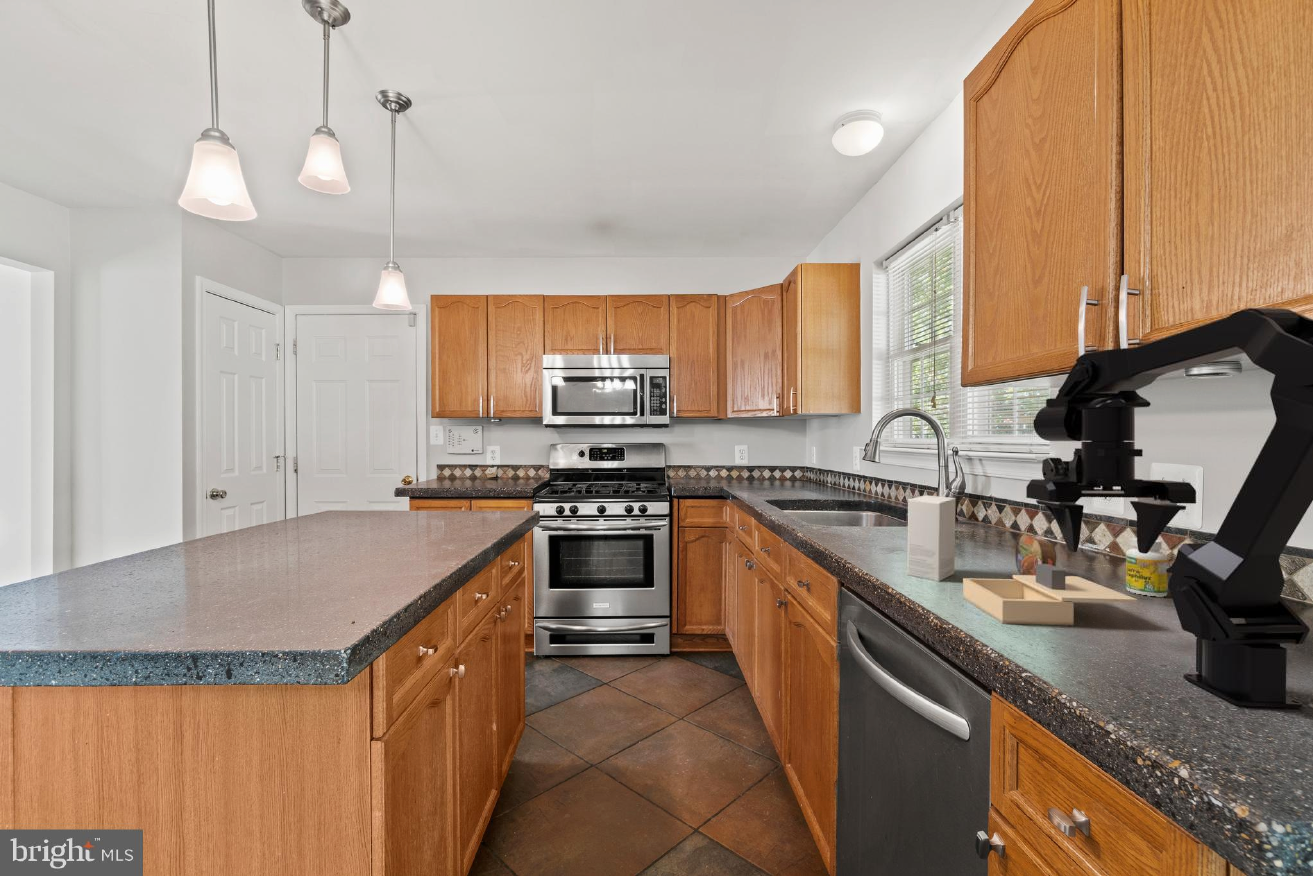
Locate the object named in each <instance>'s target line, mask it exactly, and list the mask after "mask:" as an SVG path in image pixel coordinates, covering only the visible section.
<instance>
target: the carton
mask: <svg viewBox="0 0 1313 876" xmlns="http://www.w3.org/2000/svg"><path fill="white" fill-rule="evenodd" d="M962 584H963V585H962V587H963V588H962V598H963V600H964V601H966V602H968V603H969V604H971V605H973V606H974V607H975V608H977V609H978V610H980V611H982V612H984V613H985V614H987V615H988V616H990V617H991V618H993V619H994V620H996V621H998V622H999V623H1001V624H1004V625H1005V624H1006V625H1007V624H1008V625H1034V626H1035V625H1039V626H1041V625H1044V626H1068V625H1072V626H1074V610H1075V609H1074V608H1075V607H1074V602H1075V601H1061V600H1059V599H1057V598H1054V597H1052V596H1050V595H1048V594H1046V593H1044V592H1042V591H1040V590H1037V589H1035V588H1033V587H1031V586H1029V585H1027V584H1025V583H1023V582H1020V581H1018V580H1016V579H1014V578H1012V579H1011V578H1009V579H1008V578H1006V579H1005V578H1004V579H1003V578H975V577H974V578H970V577H969V578H968V577H967V578H965V577H963V579H962Z"/></svg>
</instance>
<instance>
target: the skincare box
mask: <svg viewBox="0 0 1313 876" xmlns="http://www.w3.org/2000/svg"><path fill="white" fill-rule="evenodd" d="M955 542H956V498H955V497H947V496H946V497H945V496H938V495H937V496H936V495H926V494H925V495H921V496H917V497H913V498H909V499H907V551H906V552H907V554H906V557H907V558H906V561H907V562H906V565H907V566H906V575H907V576H910V577H914V578H920V579H924V580H928V581H929V580H930V581H934V582H938V583H939V582H941V581H942V580H945V579H947V578H949V577H951V576H953V575H954V574H955V555H956V553H955V552H956V550H955V549H956V544H955Z"/></svg>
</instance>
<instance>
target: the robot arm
mask: <svg viewBox="0 0 1313 876" xmlns="http://www.w3.org/2000/svg"><path fill="white" fill-rule="evenodd" d="M1242 354H1245V355H1246V356H1247V358H1249V360H1250V361H1251V362H1252V364H1253V365H1256V366H1257V367H1259V368H1261V369H1263V370H1265V371H1267V372H1268V373H1270V374H1272V375H1274V377H1273V380H1272V383H1271V387H1270V391H1269V395H1270V399H1271V403H1272V408H1273V411H1274V415H1275V422H1274V425H1273V427H1272V428H1271V431H1270V433H1269V434H1268V436H1267V437H1266V440H1265V442H1264V443H1263V445H1262V448H1261V450H1260V452H1259V454H1258V455H1257V457H1256V458H1255V461H1254V462H1253V465H1252V467H1251V468H1250V470H1249V472H1248V474H1247V476H1246V478H1245V479H1244V482H1243V483H1242V486H1241V487H1240V488H1239V490H1238V492H1237V495H1236V497H1235V499H1234V501H1233V502H1232V504H1231V506H1230V507H1229V510H1228V512H1227V513H1226V515H1225V518H1224V519H1223V522H1222V523H1221V525H1220V527H1219V529H1218V531H1217V532H1216V534H1215V536H1214V537H1213V538H1212V539H1211V540H1210V541H1208V542H1201V543H1200V542H1197V543H1195V542H1193V543H1189V542H1188V543H1185V542H1184V543H1182V544H1181V545H1180V546H1179V547H1178V549H1177V553H1176V557H1175V560H1174V562H1173V563H1172V564H1171V566H1169V567H1167V570H1166V572H1167V574H1170V575H1169V578H1168V580H1167V591H1169V592H1170V596H1171V599H1172V602H1173V606H1174V607H1175V611H1176V614H1177V617H1178V620H1179V623H1180V626H1181V629H1182V630H1183V631H1185V632H1188V633H1190V634H1192V635H1193V636H1194V637H1195V639H1196V640H1195V642H1196V643H1195V672H1196V673H1183V676H1182V677H1183V679H1184V680H1186V681H1188V682H1190V683H1192V684H1194V685H1196V686H1198V687H1200V688H1202V689H1204V690H1206V691H1208V692H1210V693H1212V694H1214V695H1215V696H1218V697H1219V698H1221V699H1223V700H1225V701H1228V702H1229V703H1231V704H1233V705H1235V706H1239V707H1240V706H1241V707H1242V706H1243V707H1258V708H1259V707H1260V708H1261V707H1264V708H1285V709H1303V707H1304V704H1303V702H1301V701H1300V700H1299V701H1298V700H1296V699H1294V698H1292V697H1290V696H1289V695H1288V696H1287V663H1288V662H1287V656H1288V655H1287V654H1288V653H1287V652H1288V649H1287V648H1286V647H1285V646H1283V647H1282V646H1281V645H1283V644H1284V645H1287V644H1291V645H1292V644H1293V645H1303V644H1304V642H1305V640H1306V638H1307V637H1308V635H1309V633H1310V631H1311V628H1310V627H1309V626H1308V625H1307V624H1306V622H1304V620H1302V618H1301V617H1300V616H1299V615H1298V614H1297V613H1296V612H1295V611H1294V610H1293V609H1292V608H1291V607H1290V605H1289V604H1288V603H1287V602H1286V601H1285V600H1284V599H1283V598H1282V597H1281V595H1282V592H1283V589H1284V587H1285V581H1286V580H1285V577H1284V573H1283V570H1282V566H1281V562H1280V557H1281V554H1282V553H1283V551H1284V549H1285V547H1286V546H1287V545H1288V543H1289V542H1290V540H1291V538H1292V536H1293V535H1294V533H1295V531H1296V529H1297V528H1298V526H1299V525H1300V523H1301V522H1302V519H1303V518H1304V516H1305V514H1306V513H1307V512H1308V509H1309V508H1310V506H1311V504H1312V502H1313V318H1310V317H1309V316H1306V315H1302V314H1301V313H1299V312H1296V311H1293V310H1291V309H1287V308H1283V307H1282V308H1280V307H1278V308H1277V307H1272V308H1269V307H1268V308H1267V307H1265V308H1263V307H1261V308H1260V307H1249V308H1244V309H1241V310H1240V309H1239V310H1238V311H1235V312H1233V313H1232V314H1229V315H1228V316H1226V317H1222V318H1220V319H1217V320H1214V321H1211V322H1208V323H1205V324H1202V325H1199V326H1196V327H1193V328H1190V329H1186V330H1183V331H1180V332H1177V333H1174V334H1172V335H1169V336H1165V337H1163V338H1162V337H1161V338H1159V339H1156V340H1153V341H1150V342H1147V343H1144V344H1141V345H1138V346H1133V347H1132V346H1131V347H1123V348H1115V349H1114V348H1112V349H1104V350H1097V351H1089V352H1085V353H1083V354H1081V355H1079V356H1078V357H1077V358H1076V360H1075V362H1076V363H1074V364H1073V366H1072V368H1071V370H1070V371H1069V373H1068V375H1067V376H1066V379H1065V381H1064V382H1063V383H1062V386H1061V387H1060V388H1059V389H1058V391H1057V392H1058V393H1057V394H1056V396H1055V398H1054V397H1053V398H1046V400H1045V406H1043V408H1040V410H1039V411H1038V412H1037V413H1036V415H1035V417H1034V419H1033V421H1032V422H1033V428H1034V432H1035V433H1036V435H1037V436H1038V437H1039V438H1040V439H1042V440H1044V441H1047V442H1081V445H1080V446H1081V448H1079V447H1077V448H1074V451H1073V457H1072V460H1063V459H1062V458H1061V457H1046V458H1044V459H1042V465H1041V474H1042V477H1043V479H1038V478H1037V479H1036V478H1033V479H1030V481H1029V482H1028V484H1027V485H1026V486H1025V487H1026V492H1025V493H1026V494H1025V495H1026V499H1033V500H1035V502H1036V504H1037V505H1041V506H1043V507H1045V508H1046V509H1047V510H1048V511H1049V513H1050V514H1051V515H1052V516H1053V518H1054V520H1055V523H1056V524H1057V526H1058V529H1059V531H1060V533H1061V535H1062V538H1063V539H1064V542H1065V545H1066V547H1067V550H1068V551H1069V552H1070V553H1071V552H1072V553H1077V552H1078V549H1079V544H1080V542H1081V531H1082V525H1083V524H1082V523H1083V515H1084V505H1082V504H1079V503H1077V502H1078V501H1079V500H1080V499H1082V498H1126V499H1127V498H1128V499H1129V498H1132V499H1134V498H1135V499H1137V500H1130V501H1129V503H1130V505H1131V506H1132V508H1133V510H1134V512H1135V513H1136V538H1137V545H1138V551H1139V552H1140V553H1143V554H1147V553H1148V552H1149V550H1150V549H1151V547H1152V546H1153V544H1154V543H1155V542H1156V540H1159V537H1160V536H1161V534H1162V533H1163V531H1164V530H1165V528H1166V527H1167V526H1168V525H1169V524H1170V522H1171V521H1172V520H1173V519H1174V518H1175V517H1176V515H1177V514H1178V513H1179V512H1180V511H1186V509H1187V505H1182V504H1197V490H1196V489H1195V488H1194V486H1193V485H1192V484H1191V482H1188V481H1177V480H1176V481H1175V480H1164V479H1140V478H1136V474H1135V473H1136V470H1135V469H1136V467H1135V466H1136V464H1135V463H1136V460H1135V459H1136V458H1135V457H1141V458H1142V457H1143V456H1144V455H1143V451H1144V450H1143V448H1136V445H1135V444H1136V443H1135V441H1136V439H1135V438H1136V435H1135V433H1136V431H1135V428H1136V426H1135V425H1136V424H1135V420H1136V419H1135V415H1136V414H1135V411H1136V410H1135V409H1137V408H1138V409H1139V408H1141V409H1143V408H1149V407H1150V406H1151V404H1152V403H1151V401H1150V400H1147V399H1146V398H1144V397H1142V396H1141V395H1139V393H1138V392H1137V390H1140V389H1142V388H1144V387H1147V386H1149V385H1151V384H1153V383H1154V382H1155V381H1156V380H1157V378H1159V377H1162V376H1163V375H1166V374H1168V373H1169V374H1170V373H1173V372H1177V371H1180V370H1184V369H1188V368H1192V367H1195V366H1196V367H1197V366H1200V365H1204V364H1208V363H1211V362H1214V361H1218V360H1219V361H1220V360H1222V359H1226V358H1230V357H1233V356H1238V355H1242ZM1115 487H1116V488H1115ZM1231 619H1235V620H1236V619H1237V620H1238V619H1243V620H1244V622H1245V623H1244V622H1241V623H1240V622H1239V623H1238V622H1237V623H1234V621H1232V620H1231Z"/></svg>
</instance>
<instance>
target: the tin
mask: <svg viewBox="0 0 1313 876" xmlns="http://www.w3.org/2000/svg"><path fill="white" fill-rule="evenodd" d="M1014 553H1015V555H1014V556H1015V566H1016V569H1017V572H1018V573H1019V575H1036V564H1050V565H1052V566H1055V567H1057V565H1056V563H1057V552H1056V549H1055V546H1054V544H1053V543H1052V542H1051V541H1048V540H1046V539H1045V538H1042V537H1041V536H1039V535H1036V534H1028V533H1023V532H1022V533H1020V534H1019V536H1018V537H1017V541H1016V545H1015V552H1014Z"/></svg>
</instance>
